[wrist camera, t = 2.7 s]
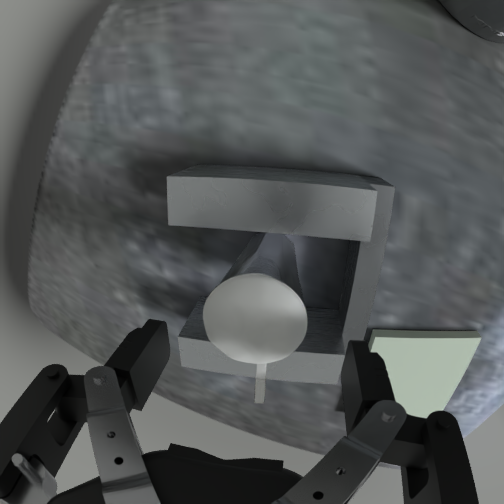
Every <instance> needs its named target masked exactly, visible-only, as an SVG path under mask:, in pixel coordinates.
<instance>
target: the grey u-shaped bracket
mask: <svg viewBox="0 0 504 504" xmlns="http://www.w3.org/2000/svg"><path fill="white" fill-rule="evenodd" d="M394 191H395V187H394V186H393V185H391V184H389V183H388V182H386V181H385V180H383V179H382V178H375V177H367V176H359V175H351V174H342V173H333V172H323V171H312V170H300V169H288V168H273V167H257V166H236V165H204V164H197V165H195V166H192V167H190V168H187V169H184V170H182V171H179V172H177V173H174V174H172V175H169V176H167V203H168V225H173V226H188V227H202V228H215V229H229V230H242V231H254V232H267V233H279V234H290V235H302V236H313V237H324V238H335V239H346V240H350V245H349V252H348V258H347V264H346V270H345V276H344V282H343V287H342V293H341V298H340V303H339V308H338V310H333V309H320V308H307V307H305V308H306V313H307V330H306V334H305V337H304V339H303V341H302V342H301V344H300V345H299V346H298V348H297V349H296V350H295V351H294V352H293V353H291V354H290V355H289V356H287V357H286V358H284V359H282V360H279V361H275V362H271V363H267V367H266V379H273V380H283V381H294V382H307V383H323V384H337V382H338V379H339V375H340V372H341V369H342V365H343V362H344V358H345V354H346V350H347V346H348V342H349V340H364V336H365V333H366V329H367V326H368V322H369V318H370V314H371V310H372V306H373V302H374V298H375V294H376V290H377V285H378V281H379V276H380V272H381V267H382V262H383V257H384V252H385V247H386V242H387V236H388V230H389V225H390V218H391V212H392V206H393V199H394ZM207 298H208V297H202V296H201V297H200V298H199V300H198V302H197V304H196V305H195V307H194V309H193V311H192V312H191V314H190V316H189V318H188V320H187V321H186V323H185V325H184V327H183V328H182V330H181V332H180V334H179V336H178V341H179V349H180V357H181V365H182V366H183V367H189V368H194V369H200V370H206V371H212V372H219V373H225V374H232V375H239V376H247V377H255V378H256V367H257V364H253V363H246V362H241V361H237V360H234V359H232V358H230V357H229V356H227V355H226V354H225V353H223V352H222V351H221V350H220V349H219V348H217V347H216V346H215V345H213V344H212V343H211V342H210V340H209V338H208V336H207V333H206V330H205V326H204V321H203V308H204V305H205V302H206V300H207Z"/></svg>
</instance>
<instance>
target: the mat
mask: <svg viewBox="0 0 504 504" xmlns="http://www.w3.org/2000/svg"><path fill="white" fill-rule="evenodd" d="M481 338H482V337H481V336H480V334H479V333H478V332H477V331H410V330H381V329H373V331H372V334H371V338H370V341H369V344H368V346H369V350H370V352H377V353H378V354H379V355H380V356H381V357H382V358H383V360H384V362H385V365H386V370H387V372H388V377H389V379H390V382H391V386H392V389H393V393H394V397H395V400H396V402H397V403H399V404H401V405H402V406H403V407H404V409H405V410H406V413H407V414H409V415H412V416H416V417H422V418H427V417H428V416H429V415H430V414H431V413H432V412H434V411H443V409H444V408H445V406H446V404H447V403H448V401H449V399H450V398H451V396H452V394H453V393H454V391H455V389H456V387H457V386H458V384H459V382H460V380H461V378H462V376H463V375H464V373H465V371H466V369H467V367H468V365H469V363H470V361H471V359H472V357H473V355H474V353H475V351H476V349H477V347H478V345H479V342H480V340H481Z"/></svg>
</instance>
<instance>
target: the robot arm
mask: <svg viewBox="0 0 504 504" xmlns="http://www.w3.org/2000/svg"><path fill="white" fill-rule="evenodd" d="M439 1H440V2H441V4H442V5H443V6H444V7H445V8H446V9H447V10H448V11H449V13H450V14H451V15H452V16H453V17H454V18H456V19H457V20H458V21H459V22H460V23H461V24H462V25H463V26H465V27H466V28H468V29H469V30H471V31H472V32H473V33H475V34H477V35H479V36H480V37H482V38H484V39H486V40H489V41H493V42H496V43H504V0H439ZM169 356H170V344H169V337H168V330H167V324H166V322H165V321H160V320H153V319H149V320H148V321H147V322H146V323H145V324H144V326H143V327H142V328H136V329H135V330H133V331H132V332H130V333H129V334H128V335H127V336H126V338H125V339H124V341H123V342H122V343H121V344H120V345H119V347H118V348H117V349H116V351H115V352H114V353H113V355H112V356H111V357H110V358H109V360H108V361H107V362H106V364H105V365H104V366H97V367H94V368H92V369H90V370H88V371H87V372H86V374H85V375H69V374H68V371H67V369H66V368H65V367H64V366H63V365H59V364H52V365H49V366H47V367H45V368H43V369H42V370H41V372H40V373H39V374H38V375H37V376H36V378H35V379H34V380H33V381H32V383H31V384H30V385H29V387H28V388H27V389H26V390H25V392H24V393H23V394H22V396H21V397H20V398H19V399H18V401H17V402H16V403H15V405H14V406H13V407H12V409H11V410H10V411H9V412H8V414H7V415H6V417H5V418H4V419H3V421H2V422H1V424H0V504H348V503H349V502H350V501H351V500H352V498H353V497H354V496H355V494H356V493H357V492H358V491H359V489H360V488H361V487H362V486H363V484H364V483H365V482H366V480H367V479H368V478H369V477H370V475H371V474H372V472H373V471H374V470H375V469H376V467H377V466H378V465H379V463H380V462H384V463H388V464H393V465H398V466H401V475H402V485H403V496H404V504H479V502H478V497H477V492H476V488H475V483H474V480H473V475H472V471H471V467H470V463H469V459H468V455H467V452H466V448H465V445H464V441H463V438H462V434H461V431H460V428H459V425H458V422H457V420H456V418H455V417H454V416H453V415H452V414H450V413H448V412H446V411H434V412H432V413H431V414H430V415H429V416H428V417H427V418H422V417H416V416H412V415H409V414H407V413H406V410H405V409H404V407H403V406H402V405H401V404H399V403H397V402H396V400H395V397H394V393H393V389H392V386H391V382H390V379H389V377H388V372H387V370H386V365H385V362H384V360H383V358H382V357H381V356H380V355H379V354H378V353H377V352H370V350H369V346H368V343H367V341H363V340H349V342H348V346H347V350H346V354H345V358H344V362H343V366H342V371H341V384H342V392H343V401H344V411H345V421H346V431H347V437H346V436H344V437H343V438H342V439H340V441H339V442H338V443H337V444H336V445H335V446H334V447H333V448H332V449H331V450H330V451H329V452H328V453H327V454H326V455H325V456H324V458H323V459H322V460H321V461H320V462H319V463H318V464H317V465H316V466H315V467H314V468H312V469H311V470H310V472H308V473H307V474H306V475H305V476H304V477H302V476H301V475H299V474H297V473H295V472H293V471H290V470H288V469H285V468H283V461H282V460H270V459H260V458H248V459H233V460H223V459H220V458H217V457H215V456H213V455H210V454H208V453H205V452H203V451H201V450H198V449H195V448H190V447H185V446H181V445H176V444H172V443H171V444H170V446H169V448H168V450H159V451H153V452H149V453H145V454H144V453H143V451H142V448H141V446H140V443H139V440H138V437H137V435H136V432H135V429H134V426H133V423H132V420H131V417H130V414H129V413H130V411H131V410H132V409H136V410H140V411H142V409H143V407H144V405H145V403H146V401H147V399H148V397H149V396H150V394H151V392H152V390H153V388H154V386H155V384H156V383H157V381H158V379H159V377H160V375H161V373H162V371H163V370H164V368H165V366H166V364H167V362H168V360H169ZM54 409H55V412H54V413H53V415H52V417H51V418H50V420H49V421H48V418H49V417H50V415H51V414H52V412H53V411H54ZM47 421H48V423H47ZM85 422H88V427H89V432H90V437H91V442H92V446H93V451H94V455H95V459H96V463H97V467H98V471H99V475H100V476H98V477H96V478H94V479H92V480H90V481H87V482H85V483H83V484H81V485H78V486H76V487H74V488H72V489H69V490H67V491H64V492H62V493H60V494H58V495H57V493H56V491H57V482H56V480H55V476H56V474H57V472H58V470H59V468H60V467H61V465H62V463H63V461H64V459H65V457H66V455H67V453H68V451H69V450H70V448H71V446H72V444H73V442H74V441H75V439H76V437H77V435H78V433H79V432H80V430H81V428H82V426H83V424H84V423H85Z"/></svg>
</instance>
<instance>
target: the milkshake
mask: <svg viewBox="0 0 504 504" xmlns="http://www.w3.org/2000/svg"><path fill="white" fill-rule="evenodd" d="M203 321H204V326H205V330H206V333H207V336H208V338H209V340H210V342H211V343H212V344H213V345H215V346H216V347H217V348H219V349H220V350H221V351H222V352H223V353H225V354H226V355H227V356H229V357H230V358H232V359H234V360H237V361H241V362H246V363H253V364H257V367H256V381H255V396H254V403H264V401H265V386H266V367H267V363H271V362H275V361H279V360H282V359H284V358H286V357H287V356H289V355H290V354H291V353H293V352H294V351H295V350H296V349H297V348H298V346H299V345H300V344H301V342H302V341H303V339H304V337H305V334H306V330H307V313H306V308H305V303H304V298H303V293H302V289H301V284H300V280H299V275H298V268H297V261H296V254H295V247H294V244H293V243H292V242H291V241H290V240H289V238H288V237H287V236H286V235H285V234H279V233H267V232H261V233H259V234H257V235H254V236H253V237H252V238H251V240H250V241H249V243H248V244H247V246H246V247H245V249H244V250H243V252H242V253H241V255H240V256H239V257H238V259H237V260H236V262H235V263H234V264H233V266H232V267H231V268H230V270H229V271H228V272H227V273H226V275H225V276H224V277H223V278H222V280H221V281H220V282H219V284H218V285H217V286H216V287H215V289H214V290H213V291H212V292H211V294H210V295H209V296H208V298H207V300H206V302H205V305H204V308H203Z"/></svg>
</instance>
